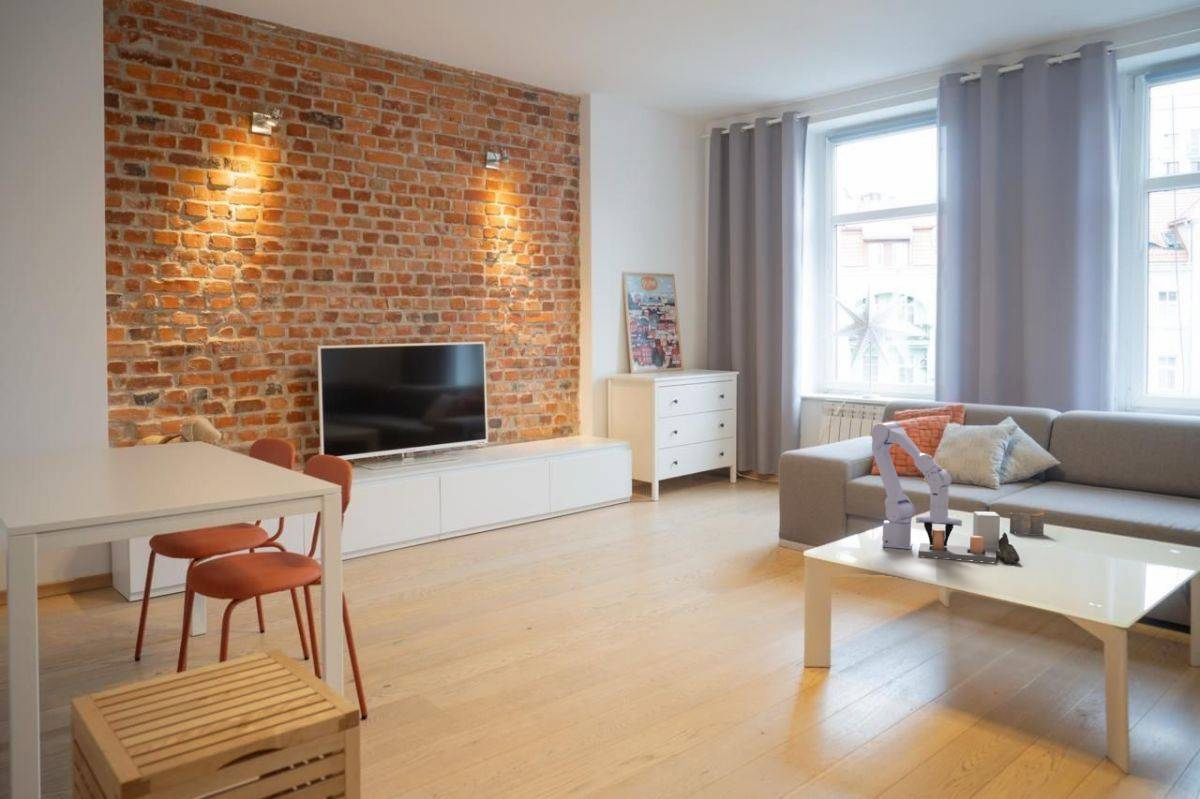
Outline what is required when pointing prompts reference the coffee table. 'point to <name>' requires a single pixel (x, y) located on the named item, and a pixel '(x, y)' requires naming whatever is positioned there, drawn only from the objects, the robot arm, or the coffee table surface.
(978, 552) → the pin
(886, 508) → the robot arm
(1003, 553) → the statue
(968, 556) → the pegboard
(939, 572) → the coffee table surface
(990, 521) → the supplement box
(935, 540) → the pin
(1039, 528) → the ruin model on sheet
